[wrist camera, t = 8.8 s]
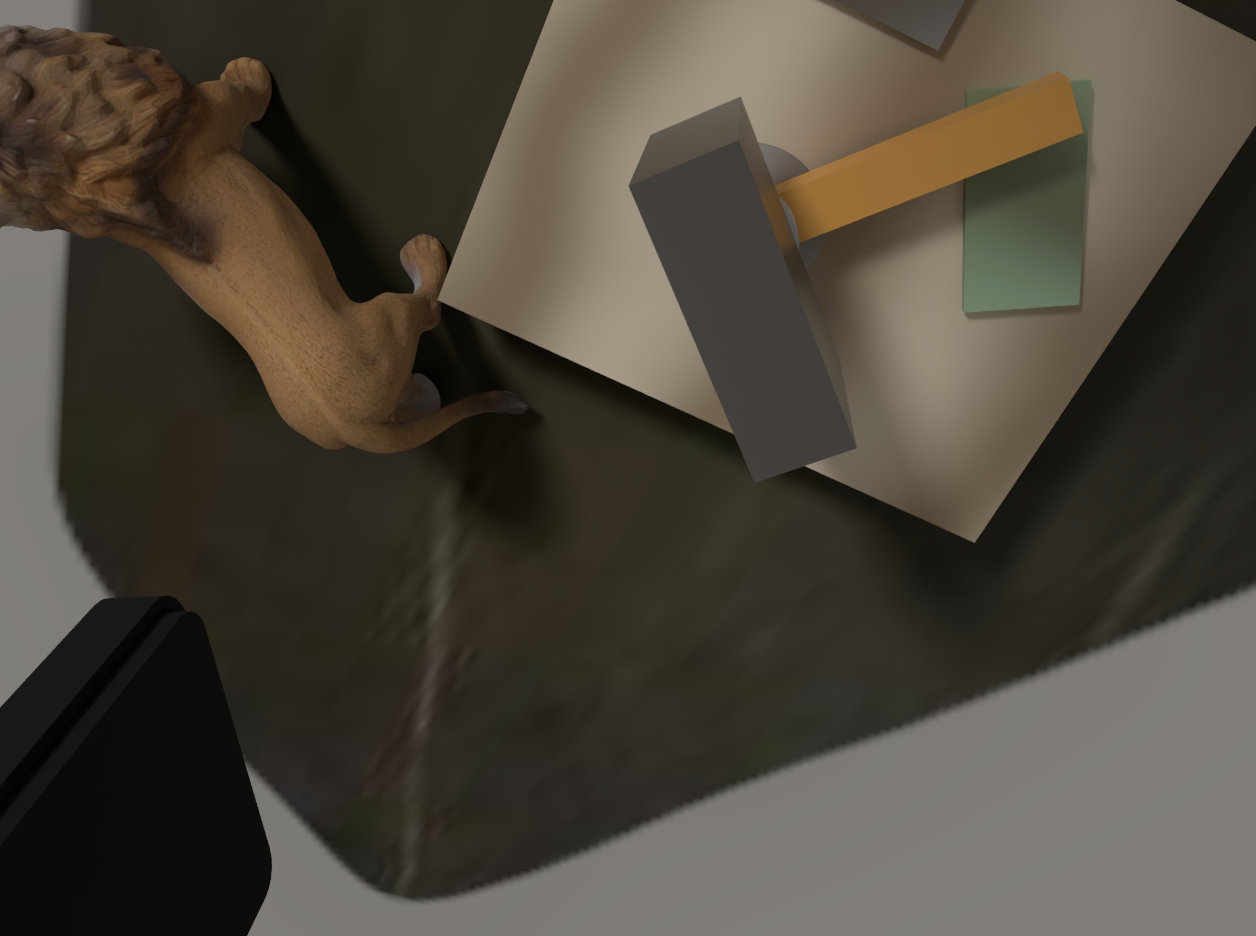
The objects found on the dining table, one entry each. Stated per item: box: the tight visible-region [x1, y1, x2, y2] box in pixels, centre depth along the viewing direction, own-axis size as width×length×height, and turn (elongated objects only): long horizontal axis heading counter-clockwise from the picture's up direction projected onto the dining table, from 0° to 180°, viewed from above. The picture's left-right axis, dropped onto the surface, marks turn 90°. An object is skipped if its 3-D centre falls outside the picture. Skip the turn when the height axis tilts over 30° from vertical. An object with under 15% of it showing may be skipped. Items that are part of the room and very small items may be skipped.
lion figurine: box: [0, 25, 528, 454], centre depth 28 cm, size 15×5×9 cm, turn 50°
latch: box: [629, 71, 1083, 483], centre depth 24 cm, size 8×6×7 cm
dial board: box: [437, 0, 1256, 543], centre depth 28 cm, size 15×13×3 cm
